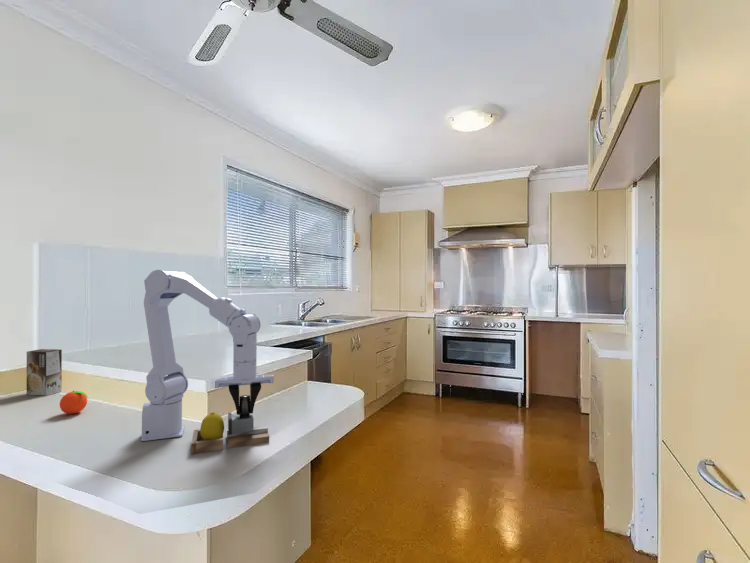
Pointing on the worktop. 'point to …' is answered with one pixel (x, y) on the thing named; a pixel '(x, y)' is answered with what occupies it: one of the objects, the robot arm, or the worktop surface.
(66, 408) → the clementine
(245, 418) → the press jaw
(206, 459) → the worktop surface
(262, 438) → the press bed
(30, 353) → the coffee box
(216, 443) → the lemon cradle
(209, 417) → the lemon
